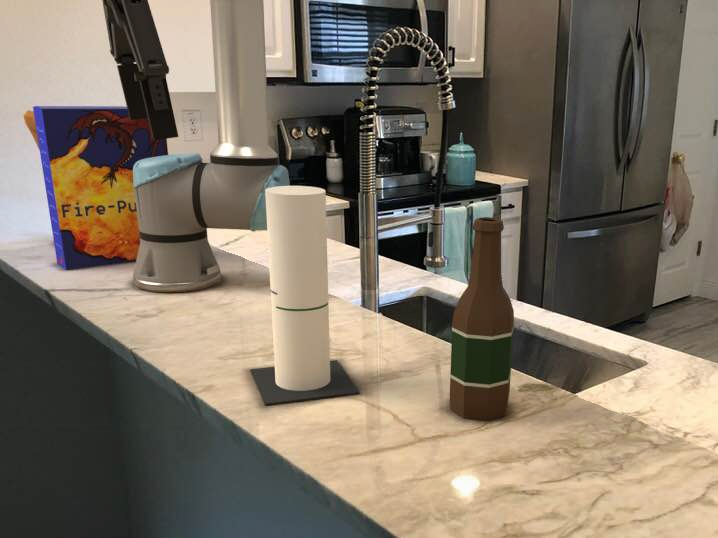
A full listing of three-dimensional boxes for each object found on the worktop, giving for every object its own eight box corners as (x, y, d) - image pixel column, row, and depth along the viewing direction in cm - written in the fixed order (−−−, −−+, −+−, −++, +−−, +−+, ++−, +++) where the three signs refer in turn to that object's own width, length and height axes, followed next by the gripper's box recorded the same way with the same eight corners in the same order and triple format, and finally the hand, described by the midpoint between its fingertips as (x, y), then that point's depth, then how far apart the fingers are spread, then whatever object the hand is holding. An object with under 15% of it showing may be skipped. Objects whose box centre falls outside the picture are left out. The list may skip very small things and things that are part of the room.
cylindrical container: (314, 366, 106) (308, 184, 97) (340, 383, 101) (336, 192, 92) (266, 377, 102) (255, 187, 93) (290, 395, 97) (281, 196, 88)
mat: (250, 371, 104) (250, 369, 104) (336, 361, 109) (336, 360, 109) (265, 405, 94) (265, 403, 94) (359, 393, 99) (359, 391, 99)
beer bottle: (520, 405, 98) (534, 219, 89) (490, 427, 91) (501, 228, 83) (468, 391, 101) (477, 210, 93) (436, 411, 95) (441, 219, 86)
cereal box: (66, 270, 147) (41, 107, 137) (57, 263, 151) (32, 105, 141) (178, 256, 161) (163, 107, 150) (167, 250, 165) (152, 105, 154)
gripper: (55, -71, 90) (102, 114, 100) (87, -75, 71) (141, 153, 82) (122, -72, 93) (161, 107, 104) (169, -76, 75) (212, 142, 85)
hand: (153, 128), depth 93 cm, fingers open, 13 cm apart
